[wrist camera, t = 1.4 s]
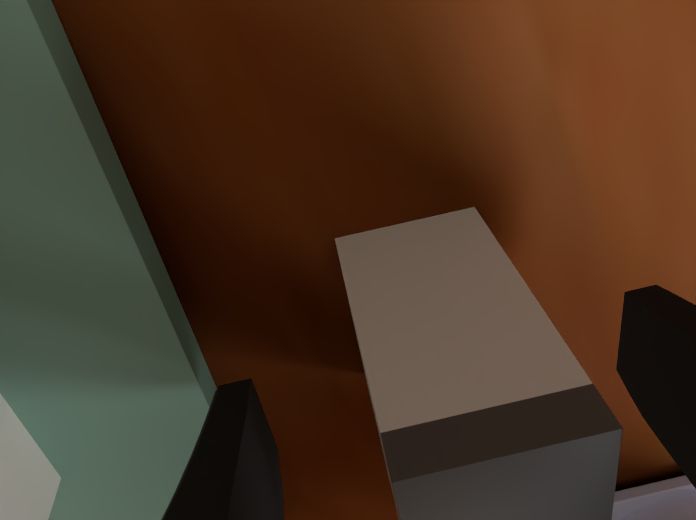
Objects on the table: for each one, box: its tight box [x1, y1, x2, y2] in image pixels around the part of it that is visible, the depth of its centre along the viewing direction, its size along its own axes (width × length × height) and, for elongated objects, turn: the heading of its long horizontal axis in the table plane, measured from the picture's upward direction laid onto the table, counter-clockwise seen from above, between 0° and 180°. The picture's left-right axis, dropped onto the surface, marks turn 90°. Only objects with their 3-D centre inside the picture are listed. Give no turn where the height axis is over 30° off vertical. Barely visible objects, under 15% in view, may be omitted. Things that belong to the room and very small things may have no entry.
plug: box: [335, 207, 623, 520], centre depth 11 cm, size 4×3×6 cm
